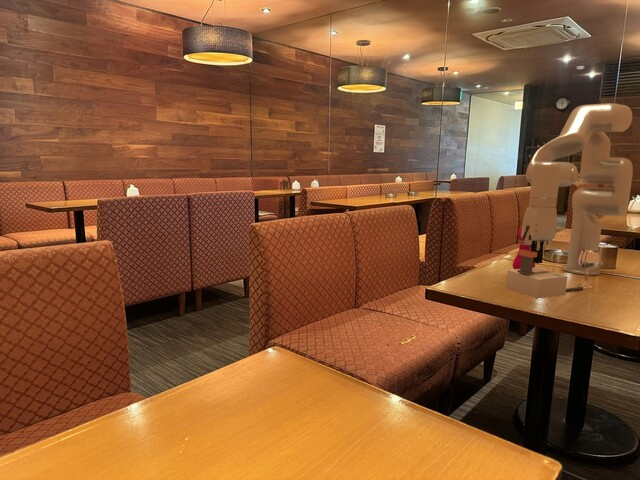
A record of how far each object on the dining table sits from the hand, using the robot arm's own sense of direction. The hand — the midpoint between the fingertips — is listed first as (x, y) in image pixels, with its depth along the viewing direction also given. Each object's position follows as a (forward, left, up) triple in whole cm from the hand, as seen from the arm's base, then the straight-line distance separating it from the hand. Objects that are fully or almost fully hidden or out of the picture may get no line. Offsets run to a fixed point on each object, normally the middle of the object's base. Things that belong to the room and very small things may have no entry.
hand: (535, 262), depth 139 cm
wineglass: (-23, +1, -10) cm, 25 cm away
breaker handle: (+4, 0, -4) cm, 5 cm away
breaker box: (-6, 0, -10) cm, 11 cm away
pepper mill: (-11, -14, -10) cm, 20 cm away
